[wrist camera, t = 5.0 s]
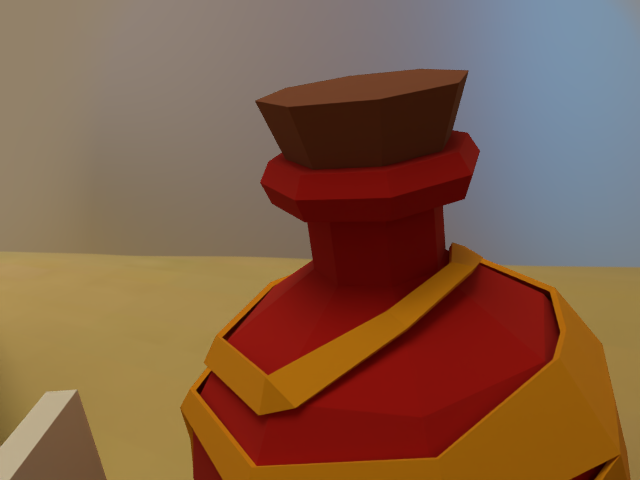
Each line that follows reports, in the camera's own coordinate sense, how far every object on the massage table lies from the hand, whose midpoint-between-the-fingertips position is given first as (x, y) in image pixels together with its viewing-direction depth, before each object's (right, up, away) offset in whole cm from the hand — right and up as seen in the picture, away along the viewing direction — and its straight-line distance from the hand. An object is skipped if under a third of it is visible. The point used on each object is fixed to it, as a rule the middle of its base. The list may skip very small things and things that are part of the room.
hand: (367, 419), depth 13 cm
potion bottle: (+2, -7, +4) cm, 8 cm away
